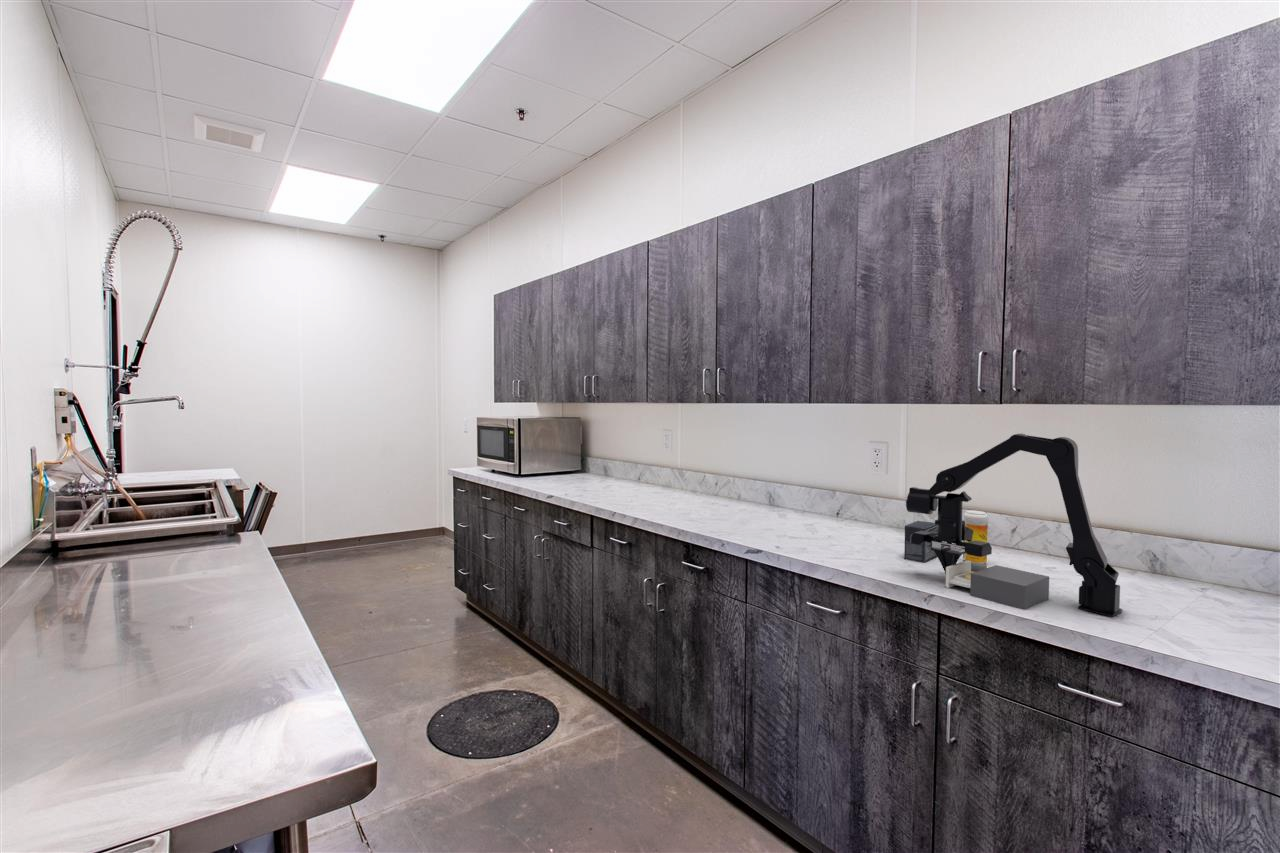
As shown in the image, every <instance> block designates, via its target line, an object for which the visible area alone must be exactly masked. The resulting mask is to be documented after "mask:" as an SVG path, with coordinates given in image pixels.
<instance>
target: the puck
mask: <svg viewBox="0 0 1280 853" xmlns="http://www.w3.org/2000/svg"><path fill="white" fill-rule="evenodd" d="M986 568H988V565H986V564H980V563H971V572H977V571H980V570H983V569H986Z"/></svg>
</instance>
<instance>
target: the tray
mask: <svg viewBox="0 0 1280 853" xmlns="http://www.w3.org/2000/svg"><path fill="white" fill-rule="evenodd" d="M966 572H971V561H969V560H968V561H965V560H964V561H962V562H957V563H956V564H954V565H951V566H948V567H946V573H945V588H947V589H950V588H953V587H955V586H960V587H964V588H968V589H970V584H971V580H967V579H965V573H966Z"/></svg>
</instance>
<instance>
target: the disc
mask: <svg viewBox="0 0 1280 853" xmlns="http://www.w3.org/2000/svg"><path fill="white" fill-rule="evenodd" d="M971 573H974V572H966V573H965V579H967V580H971Z"/></svg>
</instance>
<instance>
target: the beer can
mask: <svg viewBox="0 0 1280 853" xmlns="http://www.w3.org/2000/svg"><path fill="white" fill-rule="evenodd" d="M988 520H989V518H988V515H987V512H986V511H982V510H981V511H980V510H965V513H964V514H963V521H965V527H968V528H970V529H972V530H974V532H973V537H972V541H975V540H976V541H981V542H987V543H988V528H989V527H988V523H989V522H988ZM962 542H969V541H967V540H966V541H963V540H962ZM962 559H963V560H964V561H968V560H969V561H971V563H980V564H984V565H986V564H985V563H987V560H988V555H986V556H983V557H977V556H973V555H968V554H967V553H965V554H962Z"/></svg>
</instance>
